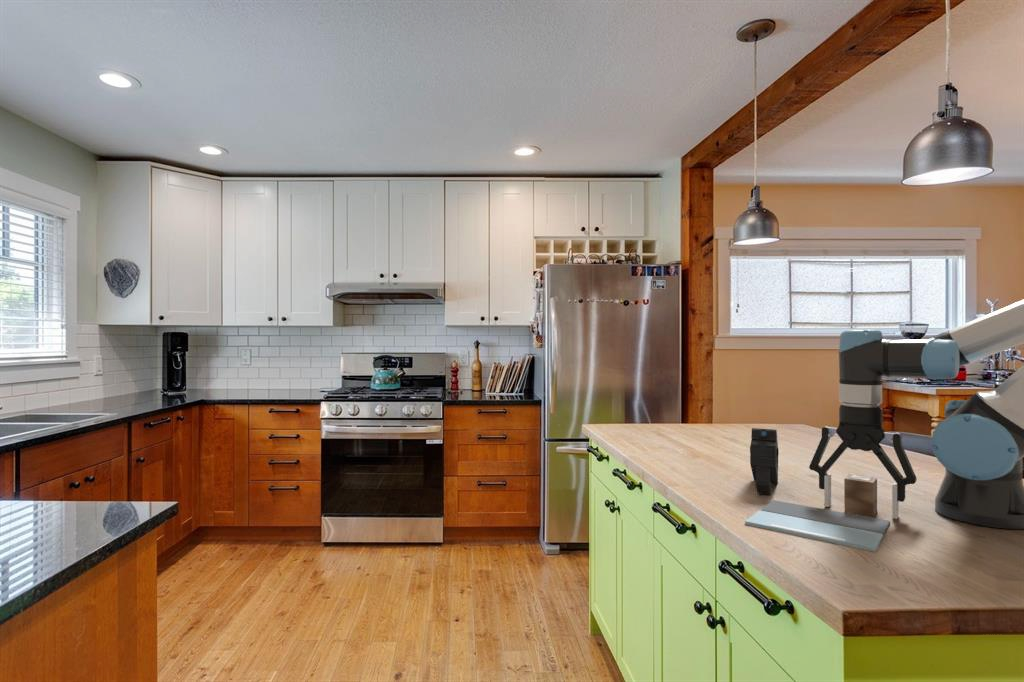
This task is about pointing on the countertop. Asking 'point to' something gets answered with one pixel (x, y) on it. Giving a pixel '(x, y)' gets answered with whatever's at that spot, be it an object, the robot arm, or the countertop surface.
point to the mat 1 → (828, 516)
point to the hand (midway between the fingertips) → (860, 510)
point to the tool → (764, 458)
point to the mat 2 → (816, 530)
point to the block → (860, 495)
